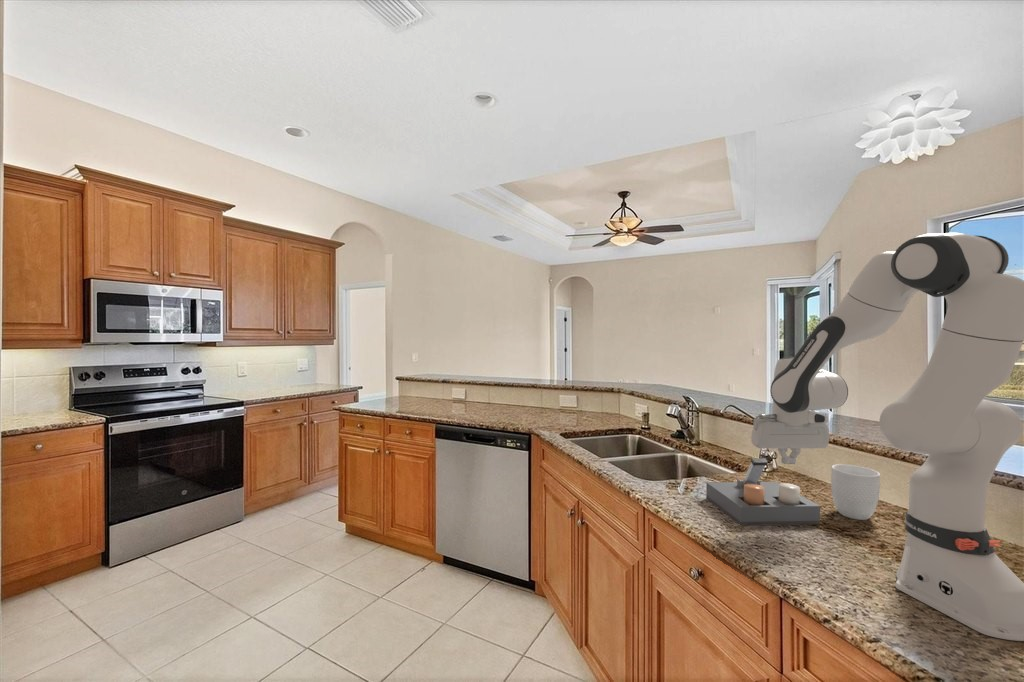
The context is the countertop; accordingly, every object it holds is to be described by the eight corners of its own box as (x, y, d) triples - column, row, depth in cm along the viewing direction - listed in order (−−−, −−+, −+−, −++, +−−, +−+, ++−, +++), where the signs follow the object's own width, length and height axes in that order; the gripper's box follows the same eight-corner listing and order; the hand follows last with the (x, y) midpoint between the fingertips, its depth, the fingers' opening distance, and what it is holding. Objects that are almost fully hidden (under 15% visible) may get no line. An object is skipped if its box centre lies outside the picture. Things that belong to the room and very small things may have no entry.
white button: (803, 507, 122) (804, 489, 122) (786, 507, 122) (786, 489, 122) (791, 500, 127) (791, 483, 127) (774, 500, 127) (774, 483, 127)
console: (819, 524, 121) (820, 498, 121) (740, 525, 120) (741, 499, 120) (775, 497, 140) (775, 475, 140) (706, 498, 139) (706, 476, 139)
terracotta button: (768, 508, 122) (768, 489, 121) (750, 508, 121) (750, 490, 121) (757, 500, 127) (757, 483, 126) (740, 501, 126) (740, 483, 126)
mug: (840, 501, 137) (841, 459, 137) (886, 513, 129) (888, 468, 128) (824, 514, 128) (825, 468, 127) (873, 527, 119) (874, 479, 119)
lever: (755, 487, 135) (767, 462, 129) (743, 488, 135) (754, 462, 129) (753, 483, 136) (765, 458, 130) (740, 483, 136) (751, 458, 130)
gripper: (761, 416, 120) (759, 467, 121) (834, 416, 121) (831, 467, 122) (747, 411, 126) (745, 460, 127) (817, 411, 127) (815, 459, 128)
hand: (788, 463), depth 125 cm, fingers closed
